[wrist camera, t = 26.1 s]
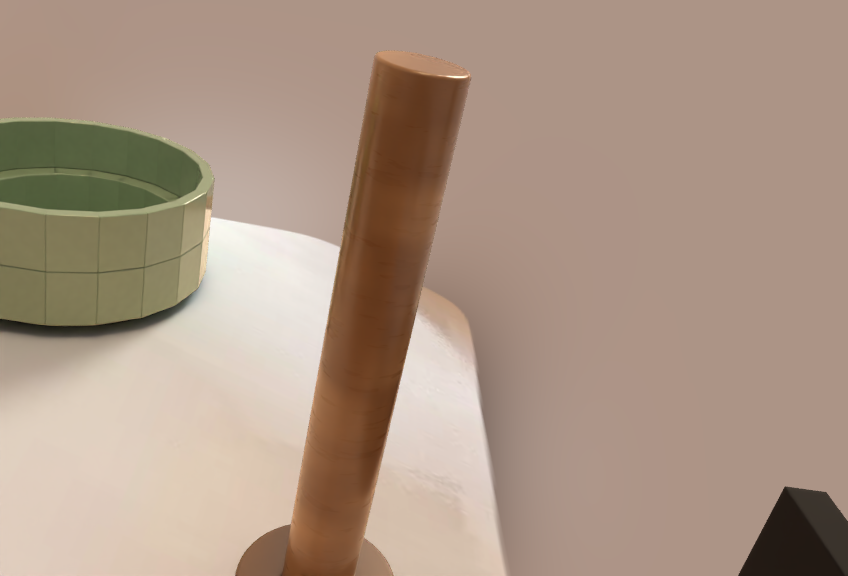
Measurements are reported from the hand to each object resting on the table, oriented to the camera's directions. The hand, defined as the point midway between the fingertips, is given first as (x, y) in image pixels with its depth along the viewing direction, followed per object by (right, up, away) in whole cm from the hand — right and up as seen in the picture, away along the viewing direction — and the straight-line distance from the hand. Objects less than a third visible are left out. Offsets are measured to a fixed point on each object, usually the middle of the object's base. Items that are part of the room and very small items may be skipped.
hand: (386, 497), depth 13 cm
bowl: (-18, +4, +28) cm, 34 cm away
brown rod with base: (-3, -7, +12) cm, 15 cm away
